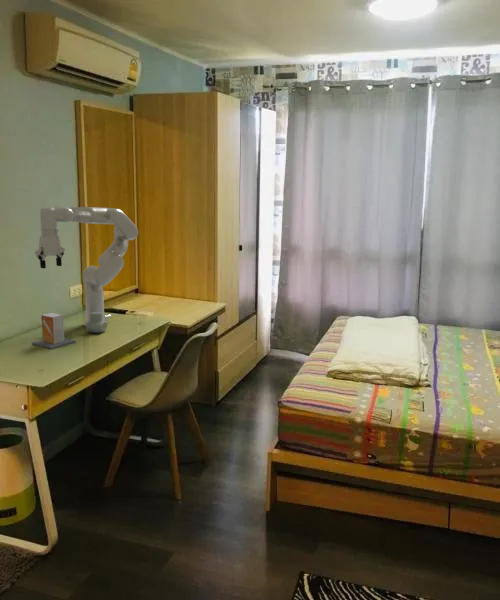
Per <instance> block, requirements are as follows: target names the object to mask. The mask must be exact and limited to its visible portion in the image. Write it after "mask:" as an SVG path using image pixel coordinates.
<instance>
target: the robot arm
mask: <svg viewBox="0 0 500 600" xmlns="http://www.w3.org/2000/svg"><path fill="white" fill-rule="evenodd" d="M39 217H40V218H39V219H40V232H41V233H40V234H41V235H40V236H39V239H38V249H37V250H36V251H34V253H35V256H36V258H37V259H38V260H39V265H40V268H41V269H46V268H47V265H46V264H47V263H46V260H45V259H46V257H50V256H51V257H52V256H55V257H56V258H55V262H56V267H62V258H63V256H64V255H65V251H66V249H65V248H64V247H62V246H61V241H60V238H59V234H58V233H59V232H60V231H59V230H58V223H59V222H60V223H68V222H69V223H70V222H74V223H75V222H76V223H81V224H88V225H89V224H91V225H92V224H93V225H113V226H114V228H113V241H112V244H110V245H109V247H108V248H106V250H104V251H103V253H102V254H101V255H100V256H99V257H98V260H97V264H98V266H95V265H89V266H87V267H85V269H84V270H83V271H82V282H83V285H84V298H85V300H84V301H85V321H83V323H82V324H83V326H85V327H86V325H87V323H88V322H89V321H91V317H90V313H92V312H102V319H103V320H104V321H105V322H106V323H107V324H108V321H107V320H108V319H111V317H112V315H111V314H105V301H104V298H105V297H104V289H103V287H105V286H107V285H109V283H111V281H113V279H115V277H116V276H118V274H119V273H120V272H121V271H122V269H123V268H124V265H125V260H124V258H123V257H124V255H125V254H126V253H127V251H128V248H129V241H133V240H135V239H136V238H137V237H138V235H139V229H138V227H137V225H136V224H135V223H134V222H133V221H132V220H131V219H130V218H129V216H127V214H126V213H124V211H122V210H121V209H119V208H115V207H114V208H112V207H94V206H93V207H92V206H91V207H90V206H78V207H77V206H55V207H41V208H40V210H39Z"/></svg>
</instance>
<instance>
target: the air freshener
mask: <svg viewBox="0 0 500 600" xmlns="http://www.w3.org/2000/svg"><path fill="white" fill-rule="evenodd" d="M90 317H91V321H89V322H88V323H87V325H86V326H85V329H86V330H87V331H88V332H90V333H92V334H93V333H94V334H101V333H102V334H103V332H105V331H106V330H107V328H108V322H107V323H106V322H105V321H104V320H103V319H102V312H92V313H90Z"/></svg>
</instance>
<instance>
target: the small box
mask: <svg viewBox="0 0 500 600" xmlns="http://www.w3.org/2000/svg"><path fill="white" fill-rule="evenodd" d="M41 327H42V328H41V329H42V330H41V332H42V340H43V341H44V342H48V343H52V344H56V343H60V342H63V341H64V338H65V330H64V329H65V328H64V327H65V326H64V315H63V314H59V313H55V312H49V313H46V314H45V313H44V314H41Z"/></svg>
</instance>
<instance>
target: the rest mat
mask: <svg viewBox="0 0 500 600" xmlns="http://www.w3.org/2000/svg"><path fill="white" fill-rule="evenodd" d="M76 342H77V341H76V340H75V339H71V338H67V337H64V341H63V342H60V343H56V344H52V343H48V342H44V341H43V339H40V340H35V341H32V342H31V345H33V346H37V347H40V348H41V347H42V348H45V349H48V350H53V349H58V348H62V347H64V346H69V345H72V344H76Z"/></svg>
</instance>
